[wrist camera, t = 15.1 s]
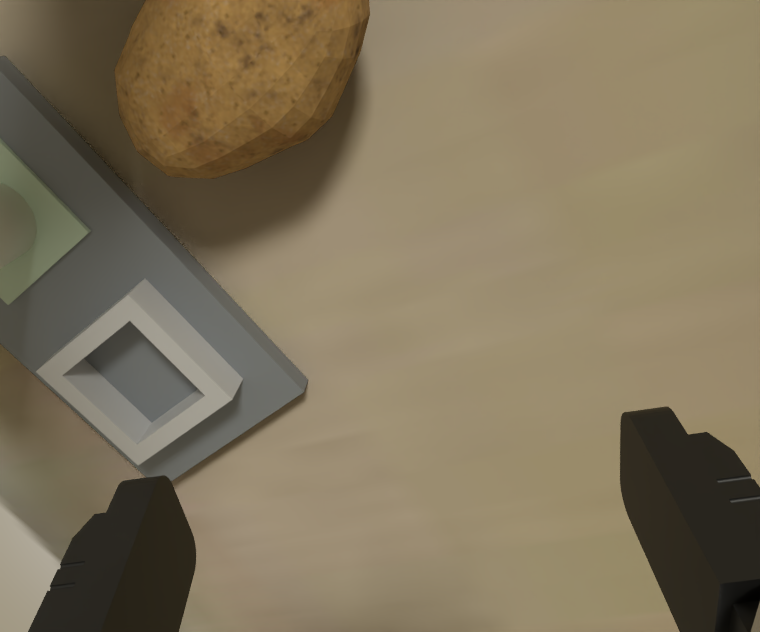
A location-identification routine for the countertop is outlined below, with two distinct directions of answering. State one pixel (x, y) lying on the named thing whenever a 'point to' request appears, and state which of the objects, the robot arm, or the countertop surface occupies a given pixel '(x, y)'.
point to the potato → (233, 78)
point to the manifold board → (123, 305)
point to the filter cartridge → (15, 225)
